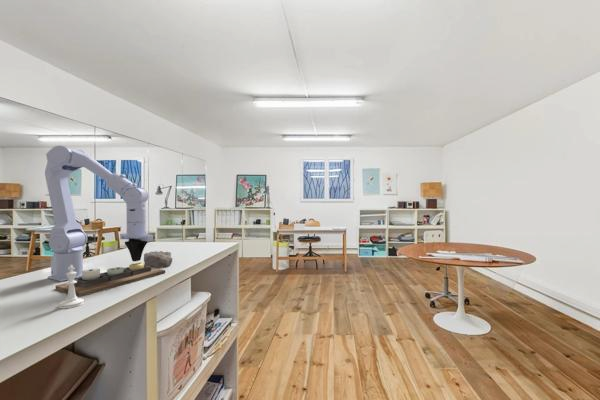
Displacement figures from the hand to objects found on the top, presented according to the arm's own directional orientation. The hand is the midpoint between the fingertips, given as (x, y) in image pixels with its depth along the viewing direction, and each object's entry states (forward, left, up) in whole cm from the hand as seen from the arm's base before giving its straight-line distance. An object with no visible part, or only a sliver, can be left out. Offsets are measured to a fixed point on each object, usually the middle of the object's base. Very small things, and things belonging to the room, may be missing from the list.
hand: (136, 260), depth 95 cm
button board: (0, -7, -5) cm, 9 cm away
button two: (0, -7, -4) cm, 8 cm away
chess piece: (+12, -24, -5) cm, 27 cm away
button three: (0, 0, -4) cm, 4 cm away
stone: (-5, +12, -5) cm, 14 cm away
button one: (0, -14, -2) cm, 14 cm away
